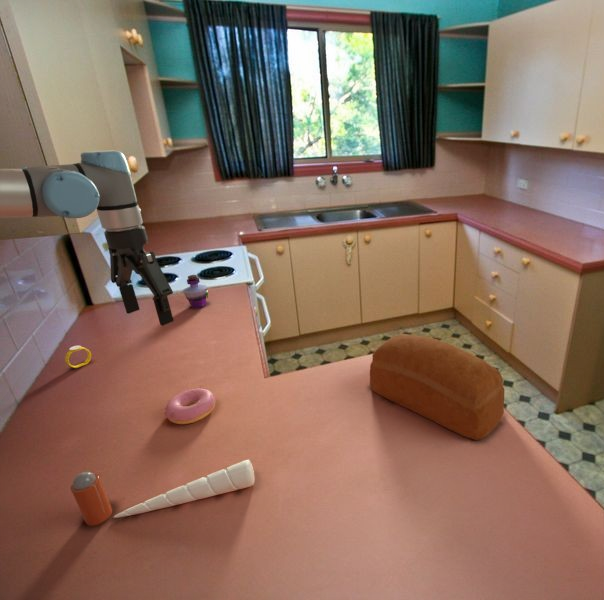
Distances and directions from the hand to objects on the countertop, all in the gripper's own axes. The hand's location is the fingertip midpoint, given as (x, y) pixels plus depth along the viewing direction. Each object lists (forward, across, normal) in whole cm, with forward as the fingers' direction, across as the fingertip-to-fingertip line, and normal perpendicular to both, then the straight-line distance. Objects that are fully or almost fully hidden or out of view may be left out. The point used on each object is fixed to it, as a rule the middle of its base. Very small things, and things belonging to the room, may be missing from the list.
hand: (149, 317), depth 99 cm
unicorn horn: (+22, -33, +17) cm, 44 cm away
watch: (+22, +38, +4) cm, 44 cm away
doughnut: (+22, -10, +2) cm, 25 cm away
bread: (+22, -59, -30) cm, 70 cm away
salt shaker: (+22, -22, +28) cm, 42 cm away
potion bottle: (+22, +45, -40) cm, 64 cm away
